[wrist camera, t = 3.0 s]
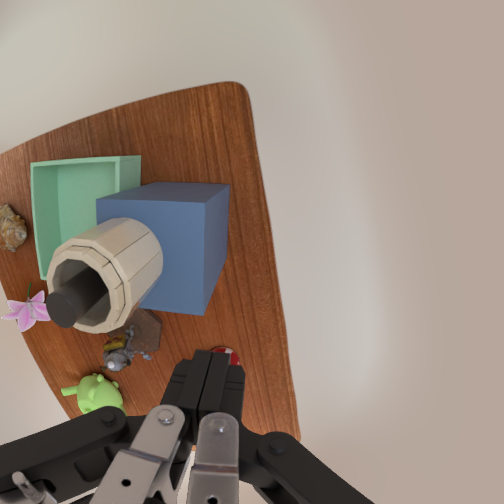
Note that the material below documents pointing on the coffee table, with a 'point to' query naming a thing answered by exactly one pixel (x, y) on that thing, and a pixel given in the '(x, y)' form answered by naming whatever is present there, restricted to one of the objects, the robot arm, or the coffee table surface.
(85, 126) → the coffee table surface
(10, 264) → the coffee table surface
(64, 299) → the dowel
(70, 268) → the jar
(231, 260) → the coffee table surface
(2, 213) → the seashell
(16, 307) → the lily
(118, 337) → the robot figurine
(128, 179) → the bin
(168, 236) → the plinth
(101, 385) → the teapot
